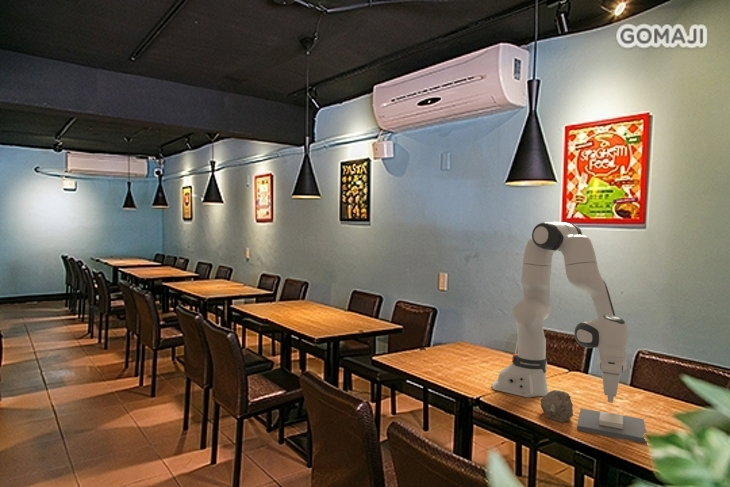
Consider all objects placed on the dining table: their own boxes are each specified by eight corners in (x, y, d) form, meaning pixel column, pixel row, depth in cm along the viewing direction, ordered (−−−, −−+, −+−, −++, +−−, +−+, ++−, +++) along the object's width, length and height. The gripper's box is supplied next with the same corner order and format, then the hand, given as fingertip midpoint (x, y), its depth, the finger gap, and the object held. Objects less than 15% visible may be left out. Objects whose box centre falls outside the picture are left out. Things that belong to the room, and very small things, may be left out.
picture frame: (600, 416, 168) (599, 425, 160) (600, 411, 168) (599, 420, 160) (622, 420, 165) (622, 429, 157) (622, 415, 165) (623, 424, 157)
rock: (528, 396, 174) (542, 386, 178) (539, 423, 174) (552, 411, 178) (560, 400, 162) (573, 388, 166) (571, 428, 162) (585, 416, 166)
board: (576, 430, 160) (577, 425, 160) (580, 412, 176) (580, 408, 176) (646, 443, 151) (646, 438, 150) (643, 423, 166) (643, 419, 166)
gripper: (603, 354, 179) (601, 391, 180) (600, 368, 161) (598, 408, 162) (622, 357, 176) (620, 394, 177) (621, 371, 158) (620, 412, 159)
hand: (610, 401), depth 169 cm, fingers closed
